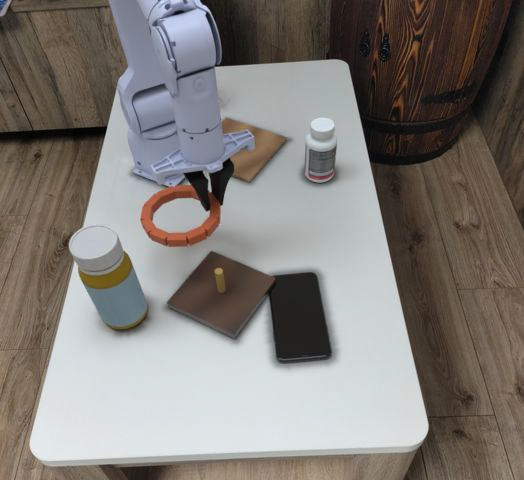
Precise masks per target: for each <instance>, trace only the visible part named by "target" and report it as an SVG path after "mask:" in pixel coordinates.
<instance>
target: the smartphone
mask: <svg viewBox="0 0 524 480" xmlns="http://www.w3.org/2000/svg"><path fill="white" fill-rule="evenodd" d="M271 276H272V277H275V278H276V283H275V284H274V285H273V287H272V288H271V289H270V291H269V294H268V301H269V309H270V310H269V311H270V317H271V327H272V336H273V337H272V339H273V343H274V354H275V358H276V360H277V362H278V363H280V364H291V363H292V364H294V363H303V362H305V363H306V362H313V361H325V360H328V359H330V358H331V357H332V354H333V352H332V351H333V350H332V345H331V340H330V334H329V329H328V324H327V319H326V314H325V308H324V304H323V299H322V298H323V297H322V292H321V288H320V287H321V286H320V283H319V277H318V275H317V274H316V273H315V272H313V271H305V272H304V271H303V272H295V273H284V274H283V273H282V274H274V275H271Z"/></svg>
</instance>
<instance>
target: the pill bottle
mask: <svg viewBox="0 0 524 480" xmlns="http://www.w3.org/2000/svg"><path fill="white" fill-rule="evenodd" d="M309 128H310V129H309V133H308V134H307V135H306V137H305V142H304V145H305V147H304V148H305V149H304V176H305V177H306V179H308V180H309V181H310V182H314V183H326V182H328V181H330V180H331V179H332V178H333V177H334V175H335V170H336V169H335V168H336V158H337V148H338V137H337V134H335V130H336V129H335V122H334V121H333V120H332V119H331V118H328V117H318V118H315V119H313V120H312V121H311V122H310V127H309Z"/></svg>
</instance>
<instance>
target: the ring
mask: <svg viewBox="0 0 524 480" xmlns="http://www.w3.org/2000/svg"><path fill="white" fill-rule="evenodd" d="M208 196H209V200H210V205H211V206H210V211H209V213H208V215H209V216H208V217H207V218H206V219H205V220H204V222H203V223H202V224H201V225H200V226H197V227H195V228H193V229H190V230H188V231H185V232H169V231H166V230H163V229H161V228H159V227H156V224H155V223H154V215H155V213H156V212H157V211H158V210H159V209H160V208H161V207H162V206H163V205H165V204H167V203H170V202H172V201H174V200H177V199H193V200H196V201H199V202H200V200H199V197H198V195H197V193H196V191H195V189H194V188H193V186H192V185H191V184H178V185H175V188H174V187H173V186H171V187H168V186H167V187H166V188H164V189H161V190H159V191H156V193H153V195H152V196H150V197H149V198H148V199H147V200H146V202H144V204H143V206H141V207H142V208H141V213H140V224H141V227H142V229H143V230H144V232H145V234H146V235H147V237H148V238H149V239H150V240H151V241H153V242H155V243H157V244H159V245H162V246H164V247H168V248H184V247H185V248H186V247H187V248H188V246H190V247H191V246H193V245H196V244H198V243H201V242H202V241H206V240H207V239H208V238H209V237H210V236H211V235H212V234H213V233H214V232H215V231H216V230H217V228H219V226H220V224H221V216H222V215H221V214H222V209H221V206H220V204H219V201H218V200H217V199H216V197H215V196H214V195H213V193H212V191H210V190H209V189H208Z"/></svg>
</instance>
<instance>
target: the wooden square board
mask: <svg viewBox="0 0 524 480" xmlns="http://www.w3.org/2000/svg"><path fill="white" fill-rule="evenodd" d="M221 123H222V132H223V134H229V133H236V132H241V131H244V130H249V132H250V133H251V134H252V135H253V136H254V141H255V149H253V150H251V151H248V150H247V149H244V150H242V151H239V152H237V153H235V154H234V155H232V156H231V157H230V160H231V161H232V162H233V164H234V173H233V174H232V176H231V177H233V178H236V179H239V180H242V181H244V182H247V183H250V182H251V181H252V180H253V179H254V178H255V177H256V176H257V174H259V173H260V171H261V170H262V169H263V168H264V167H265V166H266V165H267V163H269V161H270V160H271V159H272V158H273V157H274V155H275V154H276V153H277V152H278V151H279V150H280V149H281V148H282V147H283V145H285V143H286V142H287V141H288V137H287V136H284V135H282V134H278V133H276V132H273V131H269V130H266V129H263V128H260V127H256V126H253V125H251V124H247V123H244V122H241V121H238V120H234V119H232V118H228V117H225V118H224V119H223V120H221Z"/></svg>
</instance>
